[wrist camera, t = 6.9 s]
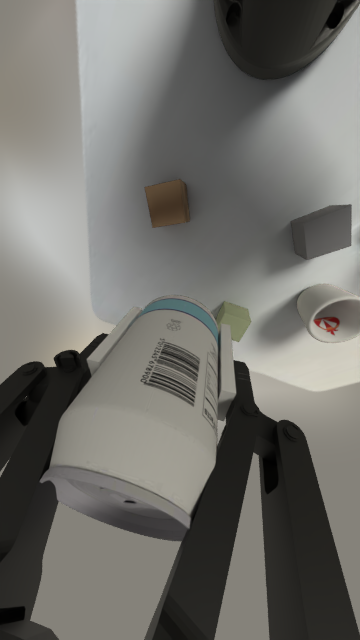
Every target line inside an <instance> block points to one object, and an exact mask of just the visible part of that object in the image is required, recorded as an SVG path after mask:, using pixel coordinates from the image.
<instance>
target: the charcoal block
mask: <svg viewBox="0 0 360 640" xmlns="http://www.w3.org/2000/svg"><path fill="white" fill-rule="evenodd" d="M351 206H352V205H332V206H328V207H325V208H323V209H320V210H318V211H315V212H313V213H310V214H308V215H305V216H303V217H300V218H298V219H295V220H293V221H291V226H292V234H293V242H294V250H295V253H296V254H297V255H299V256H301V257H303V258H305V259H306V260H309V259H312V258H315V257H318V256H321V255H324V254H328V253H331V252H334V251H337V250H340V249H343V248H346V247H349V246H351Z"/></svg>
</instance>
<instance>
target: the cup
mask: <svg viewBox="0 0 360 640" xmlns="http://www.w3.org/2000/svg"><path fill="white" fill-rule="evenodd" d="M297 310H298V312H299V314H300V316H301V318H302V320H303V322H304V324H305V326H306V328H307V330H308V332H309V333H310V335H311V336H312V337H313V338H315V339H317V340H319V341H322V342H326V343H338V342H344V341H347V340H350V339H352V338H355V337H357V336H358V335H360V296H357V295H354V294H352V293H350V292H347V291H345V290H343V289H340V288H338V287H336V286H333V285H329V284H318V285H314V286H311V287H309V288H307V289H306V290H305V291H303V292H302V293H301V295H300V296H299V298H298V300H297Z"/></svg>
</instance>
